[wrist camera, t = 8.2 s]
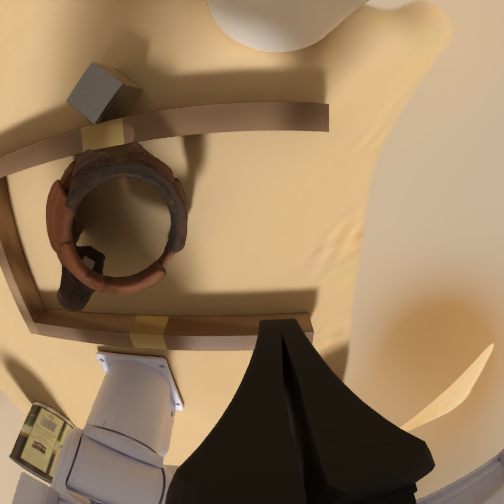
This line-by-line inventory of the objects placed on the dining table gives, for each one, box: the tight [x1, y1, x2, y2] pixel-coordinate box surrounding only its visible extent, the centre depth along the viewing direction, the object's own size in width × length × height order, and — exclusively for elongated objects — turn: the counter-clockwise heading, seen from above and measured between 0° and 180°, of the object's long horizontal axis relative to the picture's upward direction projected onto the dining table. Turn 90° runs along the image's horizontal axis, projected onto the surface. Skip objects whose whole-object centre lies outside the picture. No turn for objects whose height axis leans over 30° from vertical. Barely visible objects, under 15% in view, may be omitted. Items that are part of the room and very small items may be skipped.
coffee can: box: [9, 402, 75, 484], centre depth 28 cm, size 10×10×14 cm
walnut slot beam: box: [0, 102, 329, 351], centre depth 18 cm, size 17×28×2 cm, turn 92°
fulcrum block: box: [67, 62, 143, 124], centre depth 13 cm, size 3×3×3 cm
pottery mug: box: [46, 142, 188, 311], centre depth 16 cm, size 12×10×8 cm
